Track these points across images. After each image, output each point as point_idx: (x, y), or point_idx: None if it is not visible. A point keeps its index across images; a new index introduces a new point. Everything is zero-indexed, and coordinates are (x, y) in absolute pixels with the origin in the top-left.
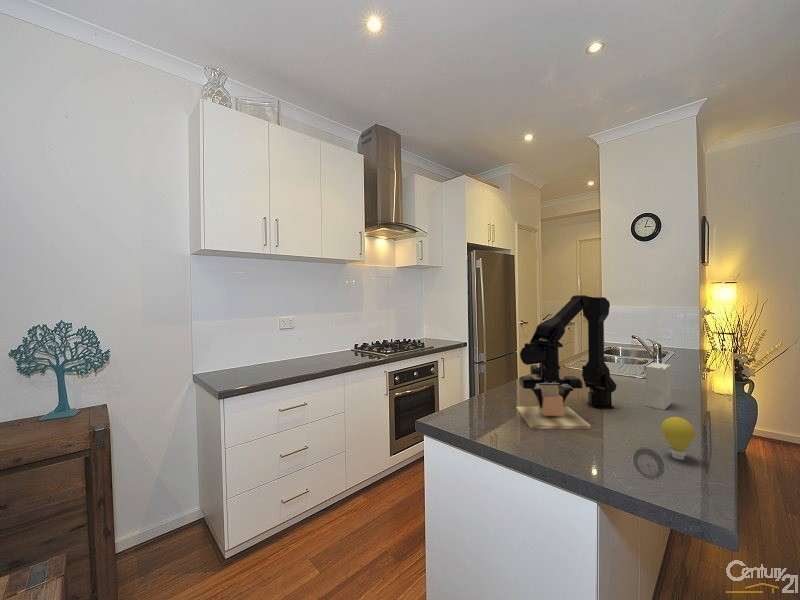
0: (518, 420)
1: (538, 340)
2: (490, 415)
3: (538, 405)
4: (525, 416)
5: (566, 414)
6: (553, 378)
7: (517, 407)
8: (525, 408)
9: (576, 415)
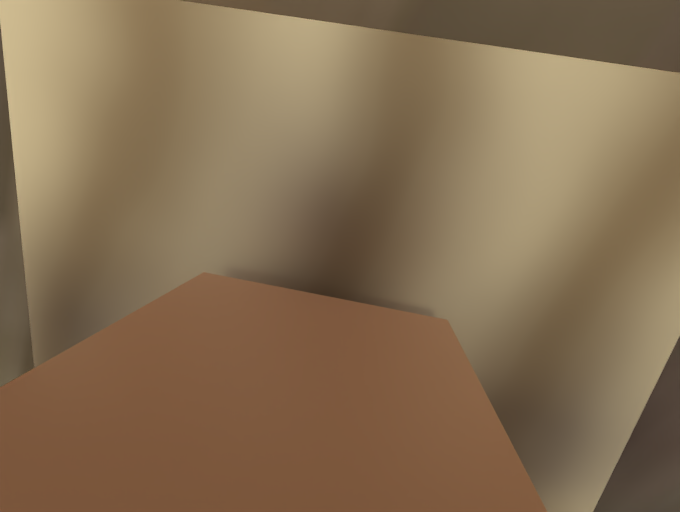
0: (13, 344)
1: None
2: None
3: (169, 293)
4: (47, 354)
5: (507, 389)
6: None
7: (4, 28)
8: (102, 91)
9: (600, 438)
